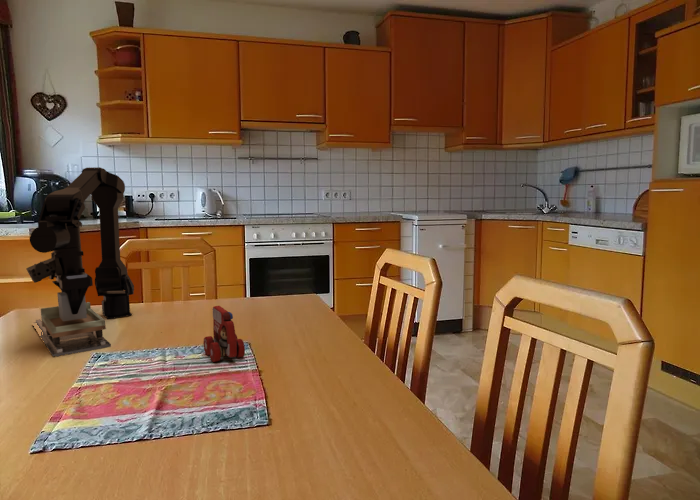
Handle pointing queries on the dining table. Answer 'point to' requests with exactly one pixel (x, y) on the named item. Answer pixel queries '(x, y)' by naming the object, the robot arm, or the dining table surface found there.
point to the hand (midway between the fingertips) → (72, 311)
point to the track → (73, 342)
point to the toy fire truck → (223, 337)
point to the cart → (71, 323)
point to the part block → (65, 308)
